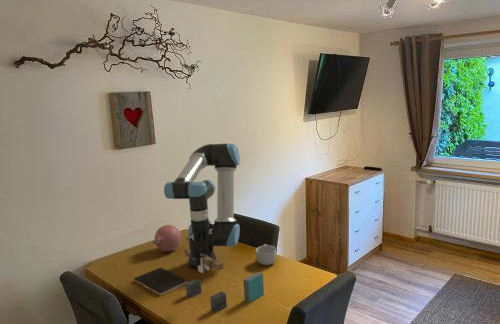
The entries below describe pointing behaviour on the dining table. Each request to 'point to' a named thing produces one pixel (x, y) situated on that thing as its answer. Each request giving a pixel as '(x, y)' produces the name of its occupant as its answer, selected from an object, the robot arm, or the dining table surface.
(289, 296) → the dining table surface
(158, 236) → the balloon
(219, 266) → the walnut stick
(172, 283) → the hardcover book
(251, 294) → the tile
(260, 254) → the teacup
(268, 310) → the dining table surface
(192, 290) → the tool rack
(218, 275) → the dining table surface
